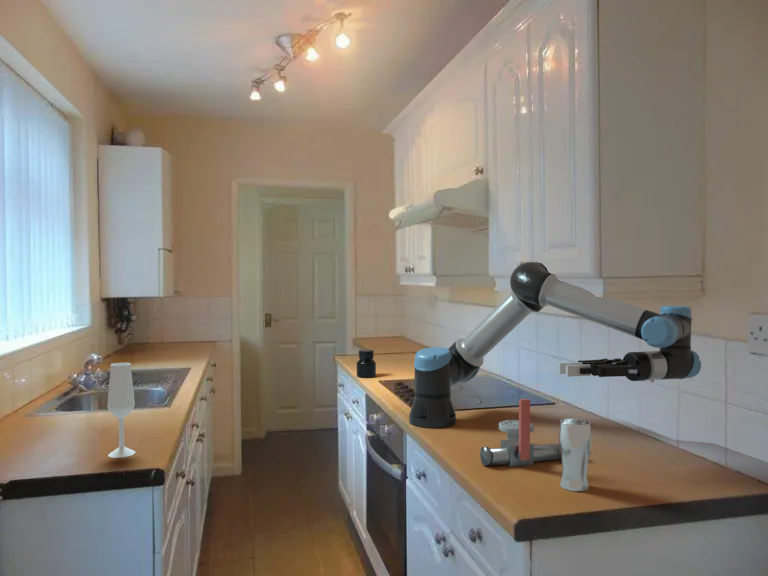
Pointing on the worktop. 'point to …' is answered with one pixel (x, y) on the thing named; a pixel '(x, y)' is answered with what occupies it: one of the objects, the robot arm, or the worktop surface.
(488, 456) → the valve
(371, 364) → the ink bottle
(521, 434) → the lever
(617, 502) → the worktop surface
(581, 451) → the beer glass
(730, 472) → the worktop surface
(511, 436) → the showerhead
